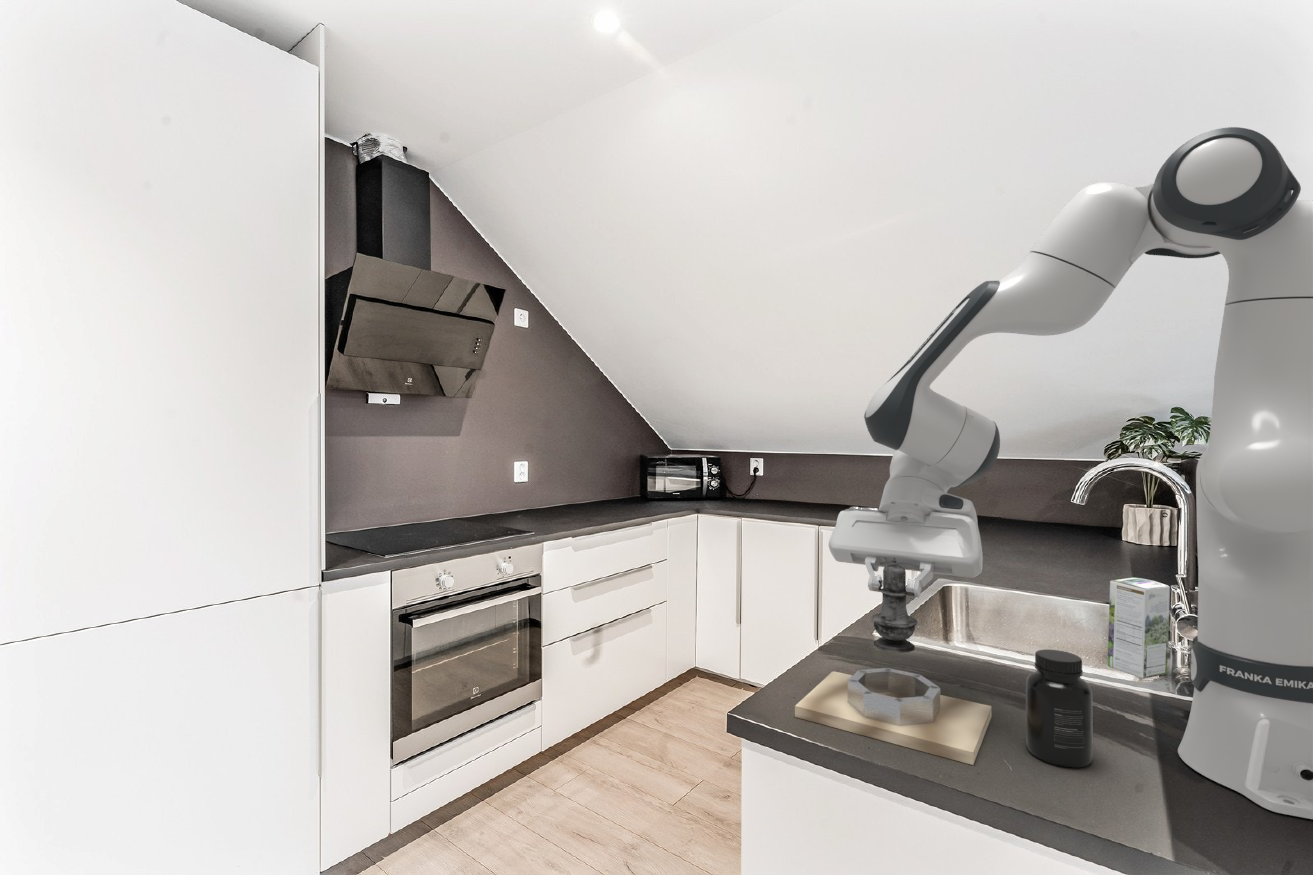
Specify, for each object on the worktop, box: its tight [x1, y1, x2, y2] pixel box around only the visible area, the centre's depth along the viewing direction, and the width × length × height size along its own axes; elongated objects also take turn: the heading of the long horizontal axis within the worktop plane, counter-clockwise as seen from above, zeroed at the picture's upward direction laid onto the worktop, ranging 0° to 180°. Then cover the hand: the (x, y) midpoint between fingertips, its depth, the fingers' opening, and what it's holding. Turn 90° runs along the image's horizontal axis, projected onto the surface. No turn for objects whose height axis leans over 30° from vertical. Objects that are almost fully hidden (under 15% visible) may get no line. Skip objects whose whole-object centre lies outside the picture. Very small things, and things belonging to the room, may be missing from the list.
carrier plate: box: [794, 670, 993, 766], centre depth 88 cm, size 22×15×2 cm
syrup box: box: [1107, 577, 1171, 680], centre depth 104 cm, size 6×6×14 cm
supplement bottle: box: [1025, 648, 1094, 768], centre depth 78 cm, size 7×7×12 cm
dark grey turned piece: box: [870, 558, 918, 654], centre depth 87 cm, size 6×6×12 cm
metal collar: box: [848, 667, 941, 726], centre depth 88 cm, size 11×11×3 cm
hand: (893, 591), depth 87 cm, fingers closed on dark grey turned piece, 4 cm apart
